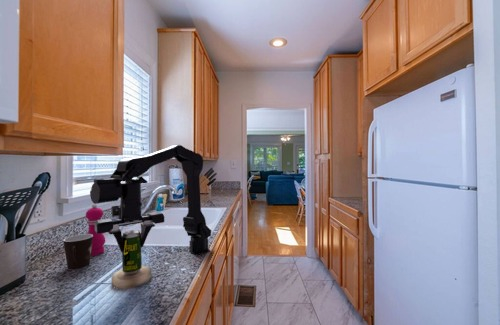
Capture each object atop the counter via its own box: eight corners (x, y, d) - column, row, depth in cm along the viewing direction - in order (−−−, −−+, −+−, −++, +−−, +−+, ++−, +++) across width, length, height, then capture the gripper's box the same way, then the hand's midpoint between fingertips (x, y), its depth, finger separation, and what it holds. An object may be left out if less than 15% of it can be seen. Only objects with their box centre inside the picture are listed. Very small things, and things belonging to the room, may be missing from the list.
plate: (145, 268, 81) (145, 262, 81) (156, 280, 73) (155, 273, 73) (108, 278, 74) (108, 272, 74) (115, 293, 66) (115, 285, 66)
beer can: (124, 268, 75) (123, 230, 75) (142, 265, 77) (141, 228, 77) (120, 276, 70) (120, 235, 70) (140, 272, 72) (140, 233, 72)
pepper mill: (100, 248, 102) (100, 202, 102) (108, 252, 98) (108, 203, 98) (81, 254, 96) (80, 204, 96) (88, 257, 92) (88, 206, 92)
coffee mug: (76, 260, 89) (75, 234, 89) (98, 260, 89) (98, 234, 89) (49, 275, 78) (48, 244, 78) (74, 275, 77) (74, 244, 77)
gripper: (153, 193, 86) (154, 236, 86) (92, 199, 74) (92, 249, 74) (164, 196, 77) (165, 244, 77) (96, 203, 65) (97, 260, 65)
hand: (131, 249), depth 74 cm, fingers closed on beer can, 5 cm apart
